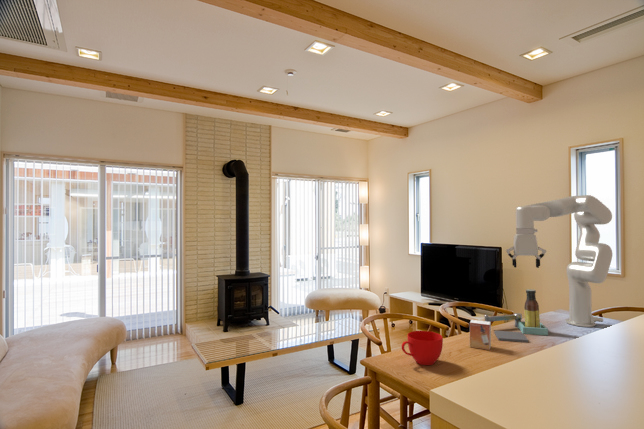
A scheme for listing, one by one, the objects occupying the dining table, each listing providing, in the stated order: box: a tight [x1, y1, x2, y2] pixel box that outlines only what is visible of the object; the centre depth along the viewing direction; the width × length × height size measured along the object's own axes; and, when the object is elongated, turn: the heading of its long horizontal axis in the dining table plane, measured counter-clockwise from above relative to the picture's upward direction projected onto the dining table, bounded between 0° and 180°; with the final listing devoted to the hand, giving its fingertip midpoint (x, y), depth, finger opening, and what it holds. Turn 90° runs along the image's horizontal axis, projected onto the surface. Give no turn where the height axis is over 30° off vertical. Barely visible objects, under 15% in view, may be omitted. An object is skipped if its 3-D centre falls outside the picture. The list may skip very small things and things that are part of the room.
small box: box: [469, 319, 492, 351], centre depth 161 cm, size 8×6×10 cm
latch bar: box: [483, 312, 523, 322], centre depth 189 cm, size 4×21×3 cm, turn 104°
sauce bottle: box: [524, 288, 541, 328], centre depth 183 cm, size 6×6×20 cm
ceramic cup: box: [401, 330, 444, 366], centre depth 144 cm, size 13×17×10 cm
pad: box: [493, 330, 529, 343], centre depth 174 cm, size 12×12×1 cm
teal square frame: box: [514, 319, 549, 336], centre depth 184 cm, size 12×14×4 cm
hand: (526, 267), depth 184 cm, fingers open, 9 cm apart
